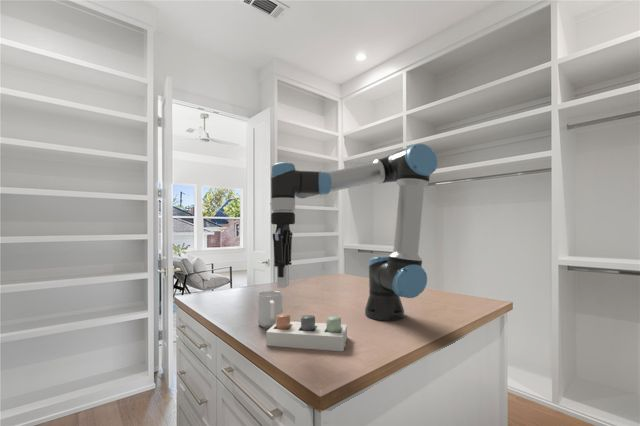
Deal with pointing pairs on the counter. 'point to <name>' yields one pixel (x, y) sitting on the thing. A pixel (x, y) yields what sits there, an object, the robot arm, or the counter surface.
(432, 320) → the counter surface
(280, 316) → the button terracotta
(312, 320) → the button charcoal
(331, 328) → the button sage
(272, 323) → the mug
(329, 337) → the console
